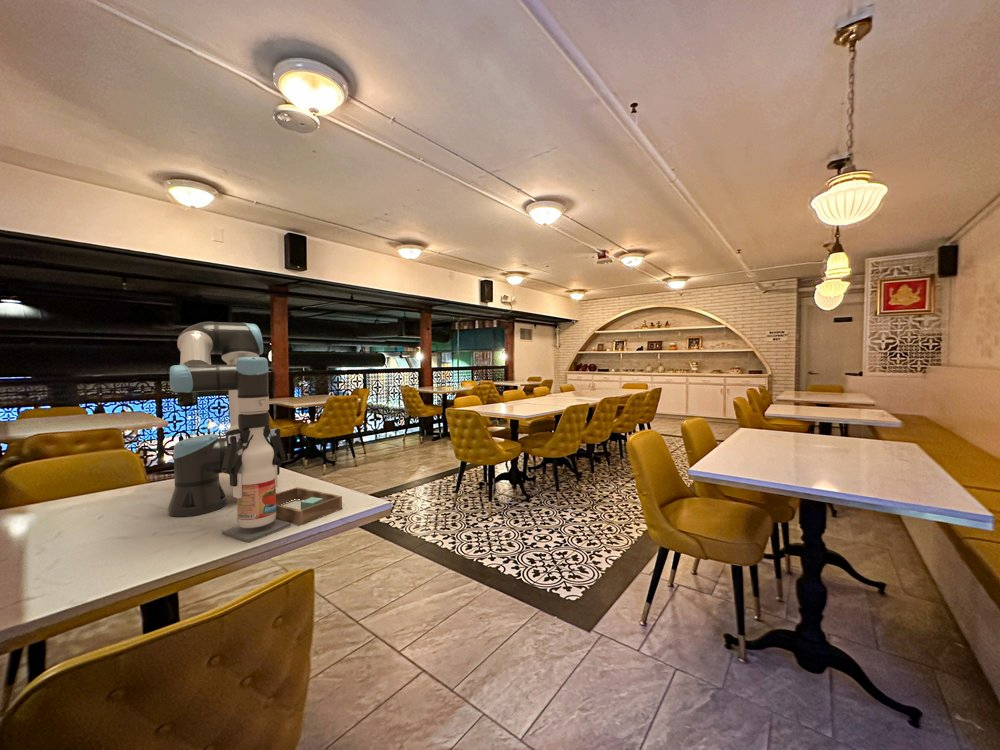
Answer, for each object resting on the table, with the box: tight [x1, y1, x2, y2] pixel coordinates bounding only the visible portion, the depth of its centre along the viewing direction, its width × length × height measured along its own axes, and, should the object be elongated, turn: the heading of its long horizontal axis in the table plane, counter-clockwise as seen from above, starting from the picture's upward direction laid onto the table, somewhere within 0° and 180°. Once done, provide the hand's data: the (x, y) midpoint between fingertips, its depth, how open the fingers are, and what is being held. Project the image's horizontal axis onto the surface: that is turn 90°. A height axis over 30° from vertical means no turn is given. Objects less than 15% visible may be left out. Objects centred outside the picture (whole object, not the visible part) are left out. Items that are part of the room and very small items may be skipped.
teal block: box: [300, 497, 323, 510], centre depth 125 cm, size 4×4×4 cm
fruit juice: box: [236, 427, 277, 528], centre depth 113 cm, size 9×9×28 cm
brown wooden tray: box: [276, 486, 343, 526], centre depth 128 cm, size 22×15×4 cm
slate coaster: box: [222, 519, 292, 543], centre depth 113 cm, size 12×12×1 cm
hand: (256, 491), depth 113 cm, fingers closed on fruit juice, 9 cm apart
